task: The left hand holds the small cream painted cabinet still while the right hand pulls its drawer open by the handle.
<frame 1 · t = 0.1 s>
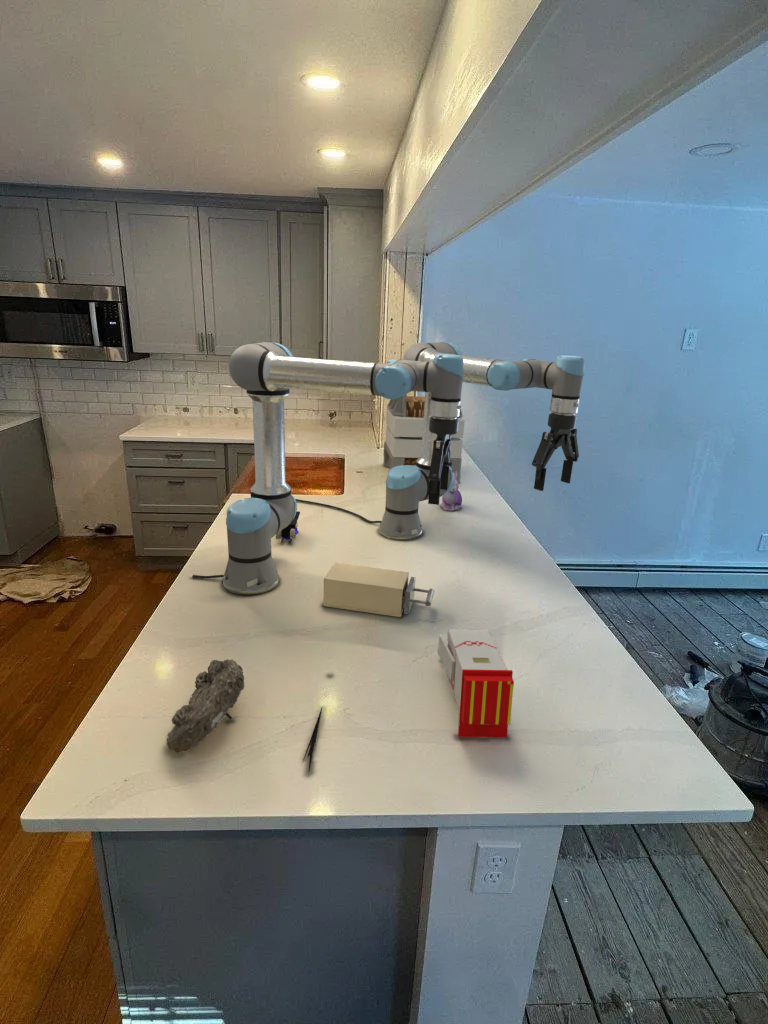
left hand: (438, 496, 152), 28 cm above the counter, tool pointing down, fingers open, 13 cm apart
right hand: (552, 485, 166), 28 cm above the counter, tool pointing down, fingers open, 13 cm apart
drawer: (385, 591, 150), point 4 cm above the counter, slide at 0.8 cm
toy: (469, 691, 119), on the counter
figurine: (451, 507, 229), on the counter
feather: (319, 719, 109), on the counter
figurine character: (288, 537, 192), on the counter
cabinet: (366, 602, 153), on the counter
transformer: (419, 473, 275), on the counter
fossil: (212, 717, 108), on the counter
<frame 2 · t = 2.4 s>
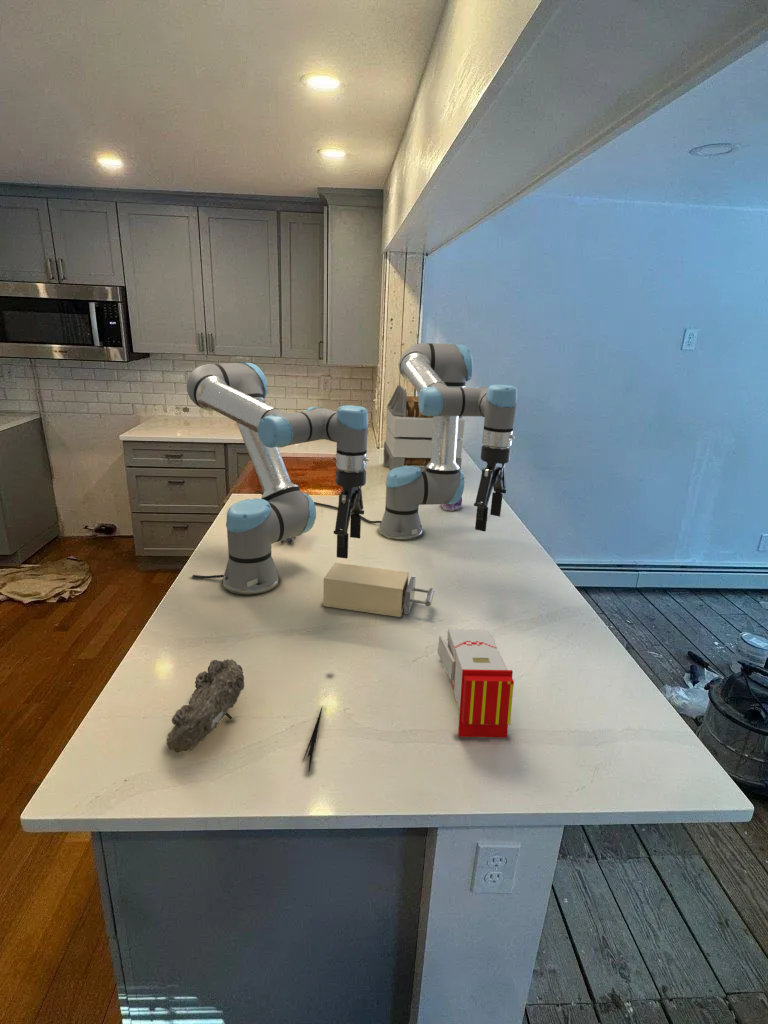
left hand: (348, 547, 149), 15 cm above the counter, tool pointing down, fingers open, 13 cm apart
right hand: (488, 522, 154), 21 cm above the counter, tool pointing down, fingers open, 13 cm apart
nothing on the counter moved.
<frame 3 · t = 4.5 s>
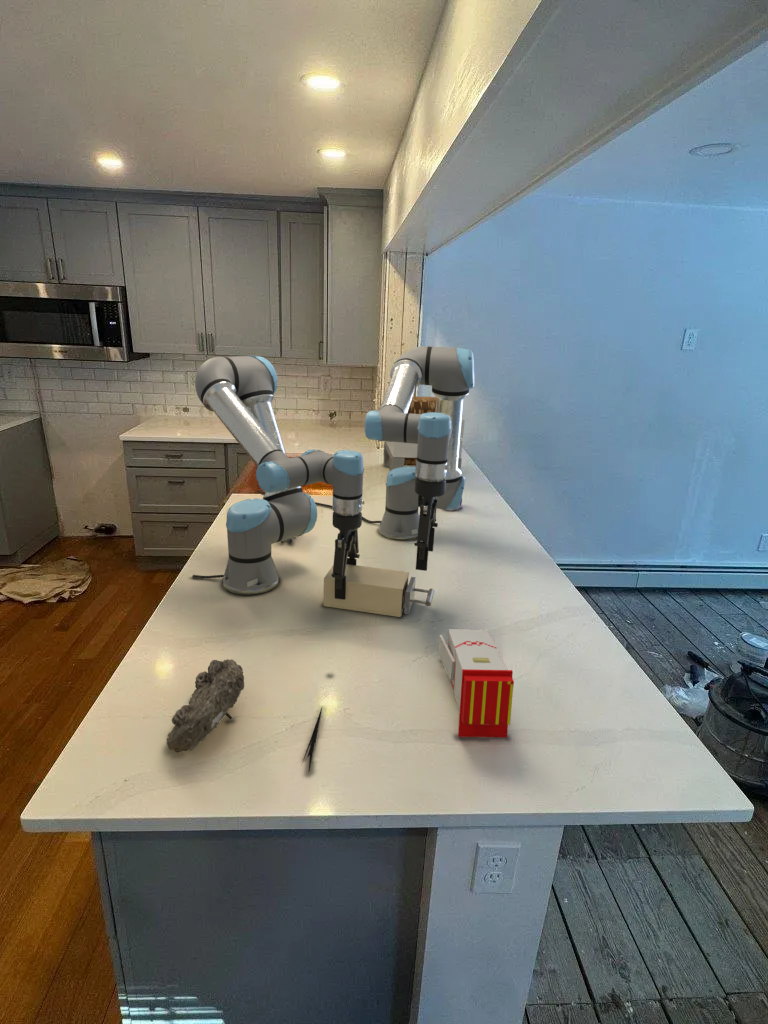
left hand: (345, 589, 152), 3 cm above the counter, tool pointing down, fingers closed on cabinet, 10 cm apart
right hand: (424, 559, 145), 15 cm above the counter, tool pointing down, fingers open, 11 cm apart
cabinet: (366, 602, 153), on the counter, touching left hand
everything else where it was.
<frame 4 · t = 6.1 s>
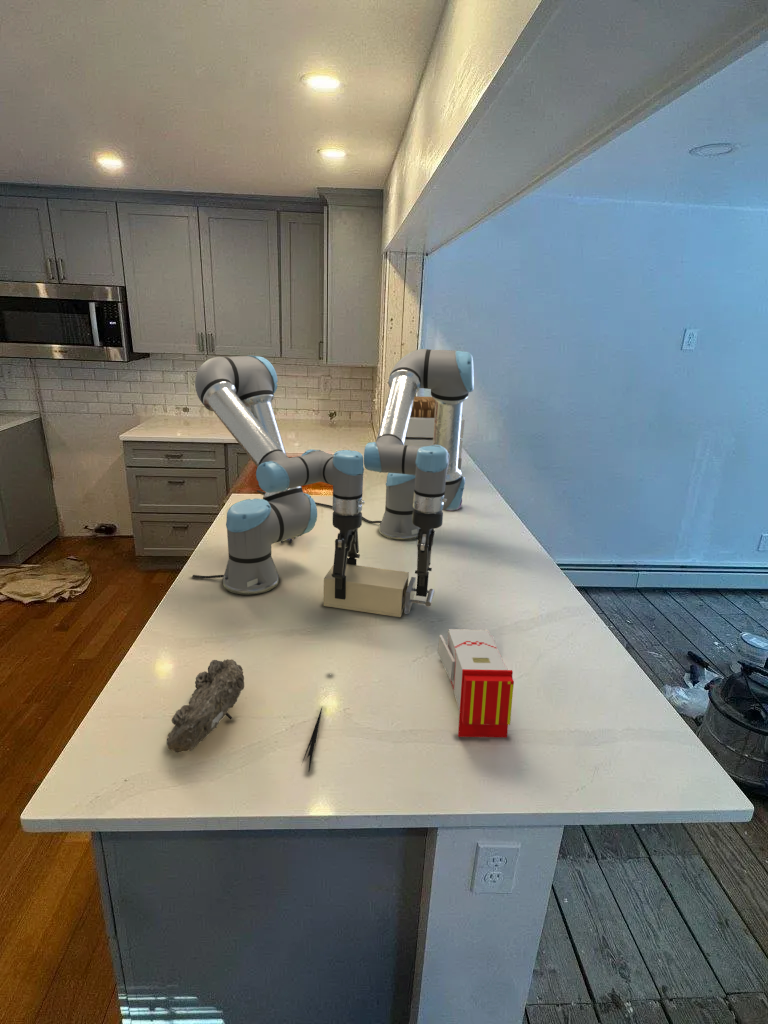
left hand: (345, 588, 152), 3 cm above the counter, tool pointing down, fingers closed on cabinet, 10 cm apart
right hand: (421, 594, 148), 5 cm above the counter, tool pointing down, fingers closed
drawer: (386, 591, 150), point 4 cm above the counter, slide at 0.8 cm, touching right hand
cabinet: (366, 602, 153), on the counter, touching left hand
everything else where it was.
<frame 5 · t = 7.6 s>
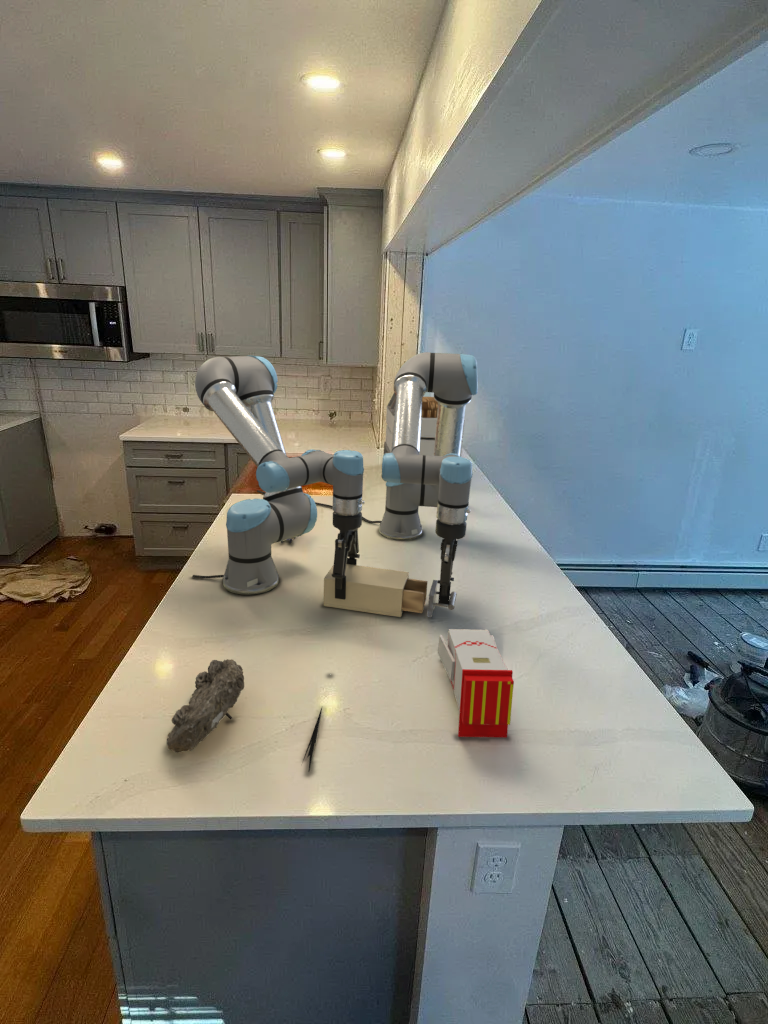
left hand: (345, 589, 152), 3 cm above the counter, tool pointing down, fingers closed on cabinet, 10 cm apart
right hand: (443, 604, 148), 3 cm above the counter, tool pointing down, fingers closed
drawer: (408, 594, 149), point 4 cm above the counter, slide at 6.7 cm, touching right hand
cabinet: (366, 602, 153), on the counter, touching left hand
everything else where it was.
when the left hand's fingers open (3 cm above the counter, at t = 9.4 s): cabinet stays where it is, on the counter.
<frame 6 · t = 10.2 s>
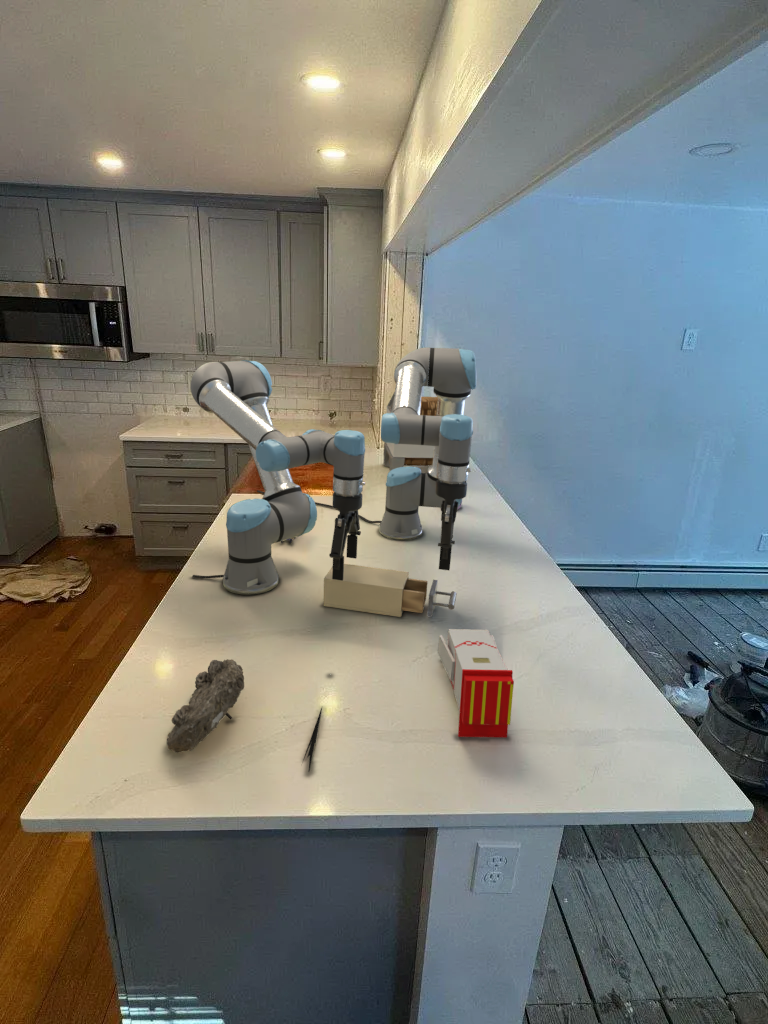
left hand: (344, 568, 151), 9 cm above the counter, tool pointing down, fingers open, 13 cm apart
right hand: (444, 568, 145), 13 cm above the counter, tool pointing down, fingers closed
drawer: (408, 594, 149), point 4 cm above the counter, slide at 6.7 cm
cabinet: (366, 602, 153), on the counter
everything else where it was.
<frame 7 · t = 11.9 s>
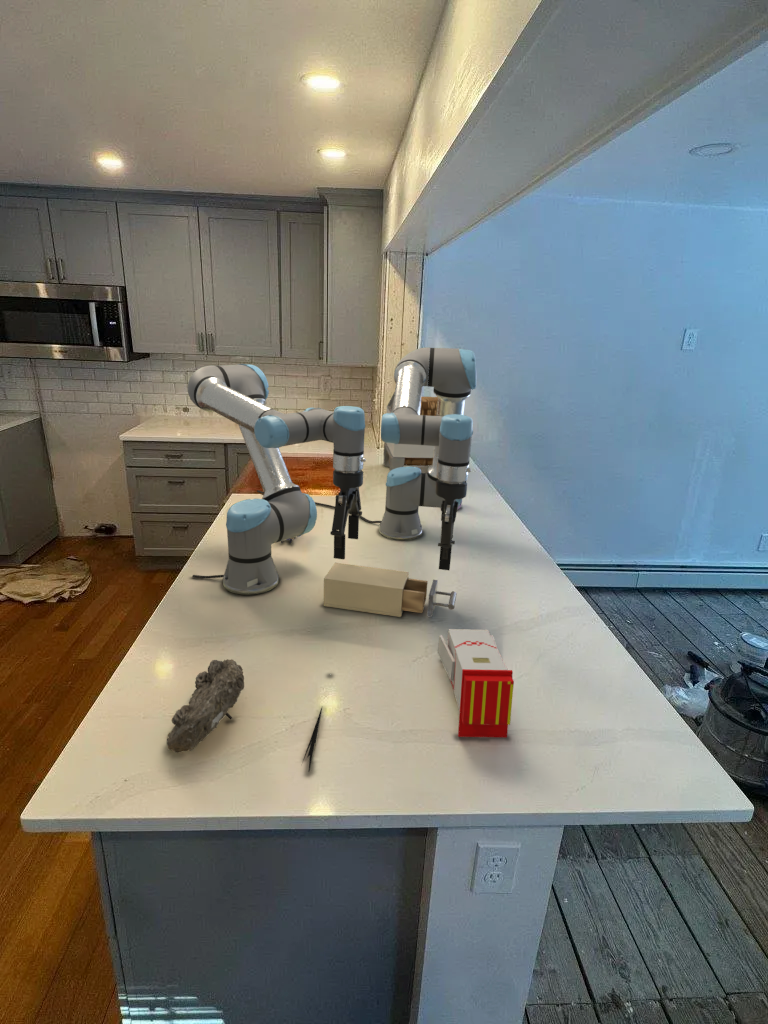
left hand: (346, 548, 148), 15 cm above the counter, tool pointing down, fingers open, 13 cm apart
right hand: (444, 568, 145), 13 cm above the counter, tool pointing down, fingers closed
nothing on the counter moved.
at the end: drawer slide at 6.7 cm; cabinet tilted 0°; cabinet never tilted more than 1° during the clip; cabinet moved 0.1 cm from its start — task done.
